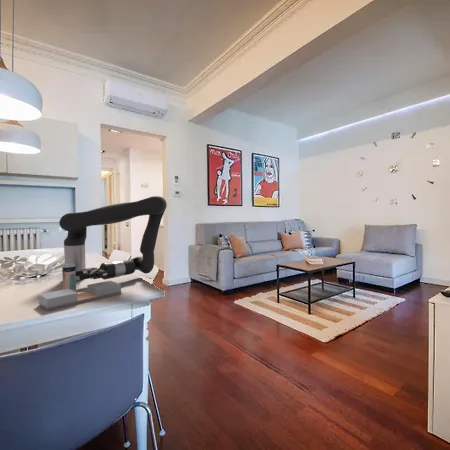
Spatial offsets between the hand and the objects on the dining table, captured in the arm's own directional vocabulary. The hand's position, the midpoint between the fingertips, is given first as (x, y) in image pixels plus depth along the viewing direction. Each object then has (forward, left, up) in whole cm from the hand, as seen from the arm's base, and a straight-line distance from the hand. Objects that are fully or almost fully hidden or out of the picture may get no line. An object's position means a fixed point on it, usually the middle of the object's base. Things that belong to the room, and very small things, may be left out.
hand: (75, 275), depth 112 cm
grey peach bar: (+13, -2, -7) cm, 15 cm away
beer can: (0, -2, -7) cm, 7 cm away
